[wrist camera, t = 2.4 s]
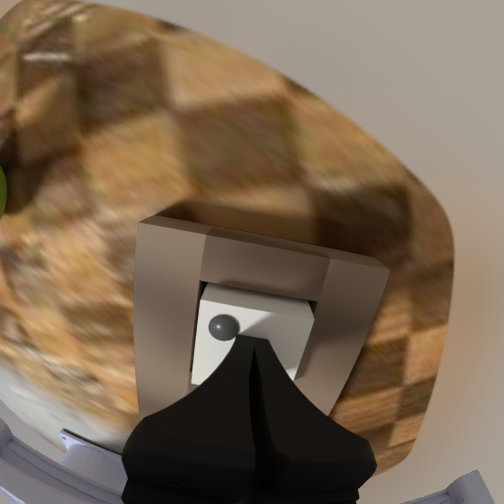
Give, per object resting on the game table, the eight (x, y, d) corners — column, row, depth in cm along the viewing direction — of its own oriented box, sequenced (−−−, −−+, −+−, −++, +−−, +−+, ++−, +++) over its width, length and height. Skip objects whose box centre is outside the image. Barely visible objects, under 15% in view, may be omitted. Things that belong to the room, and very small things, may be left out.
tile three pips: (282, 366, 14) (286, 399, 12) (200, 353, 14) (191, 384, 12) (305, 293, 13) (314, 320, 11) (210, 276, 13) (200, 300, 10)
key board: (271, 485, 19) (271, 501, 17) (155, 466, 19) (150, 482, 17) (374, 257, 13) (390, 270, 11) (154, 215, 13) (137, 222, 11)
